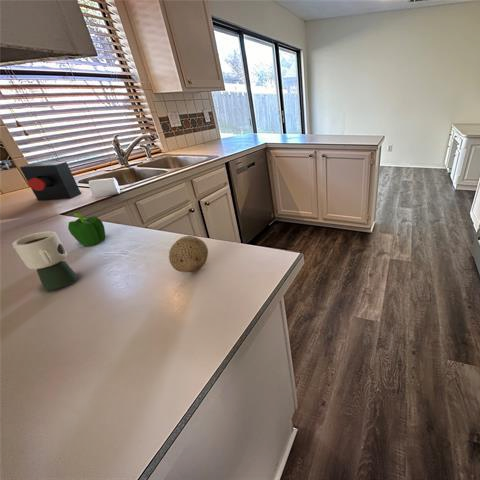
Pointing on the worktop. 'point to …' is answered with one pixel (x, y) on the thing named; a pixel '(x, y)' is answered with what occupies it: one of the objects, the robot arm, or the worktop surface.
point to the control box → (52, 180)
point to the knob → (39, 183)
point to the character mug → (46, 259)
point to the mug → (104, 187)
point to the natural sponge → (188, 254)
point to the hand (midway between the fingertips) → (7, 162)
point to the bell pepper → (87, 230)
